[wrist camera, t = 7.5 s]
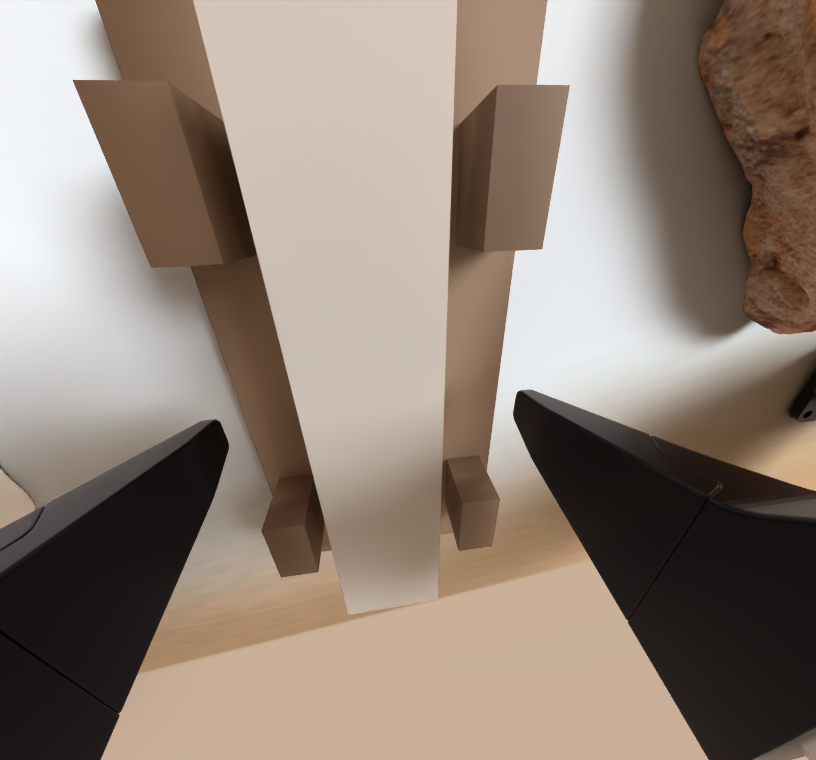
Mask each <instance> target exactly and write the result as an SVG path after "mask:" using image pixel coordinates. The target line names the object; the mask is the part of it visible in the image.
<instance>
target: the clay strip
mask: <svg viewBox="0 0 816 760" xmlns="http://www.w3.org/2000/svg"><path fill="white" fill-rule="evenodd" d="M193 2H194V6H195V10H196V14H197V18H198V22H199V26H200V30H201V34H202V38H203V42H204V46H205V49H206V53H207V57H208V61H209V65H210V69H211V73H212V77H213V81H214V85H215V89H216V93H217V97H218V101H219V105H220V109H221V113H222V117H223V121H224V125H225V129H226V133H227V137H228V141H229V145H230V148H231V152H232V156H233V160H234V164H235V168H236V172H237V176H238V180H239V184H240V188H241V192H242V196H243V200H244V204H245V208H246V212H247V216H248V220H249V224H250V228H251V232H252V236H253V240H254V244H255V247H256V251H257V255H258V259H259V263H260V267H261V271H262V275H263V279H264V283H265V287H266V291H267V295H268V299H269V303H270V307H271V311H272V315H273V319H274V323H275V327H276V331H277V335H278V339H279V343H280V346H281V350H282V354H283V358H284V362H285V366H286V370H287V374H288V378H289V382H290V386H291V390H292V394H293V398H294V402H295V406H296V410H297V414H298V418H299V422H300V426H301V430H302V434H303V438H304V442H305V445H306V449H307V453H308V457H309V461H310V465H311V469H312V473H313V477H314V481H315V485H316V489H317V493H318V497H319V501H320V505H321V509H322V513H323V517H324V521H325V525H326V529H327V533H328V537H329V541H330V544H331V548H332V552H333V556H334V560H335V564H336V568H337V572H338V576H339V580H340V584H341V588H342V592H343V596H344V600H345V604H346V608H347V612H348V615H350V614H356V613H363V612H369V611H375V610H381V609H387V608H393V607H399V606H405V605H411V604H417V603H423V602H429V601H435V600H438V578H439V548H440V517H441V486H442V455H443V425H444V394H445V363H446V333H447V302H448V271H449V240H450V210H451V179H452V148H453V118H454V87H455V56H456V25H457V0H193Z"/></svg>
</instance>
